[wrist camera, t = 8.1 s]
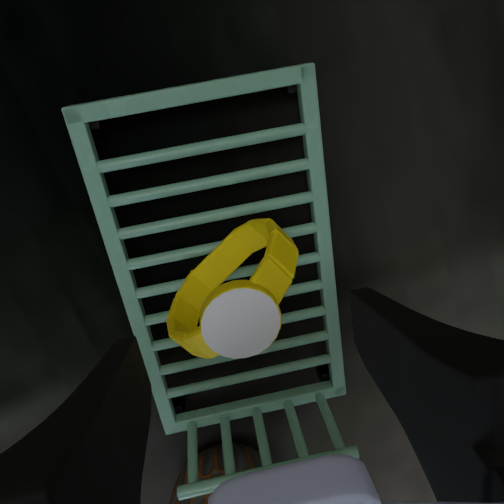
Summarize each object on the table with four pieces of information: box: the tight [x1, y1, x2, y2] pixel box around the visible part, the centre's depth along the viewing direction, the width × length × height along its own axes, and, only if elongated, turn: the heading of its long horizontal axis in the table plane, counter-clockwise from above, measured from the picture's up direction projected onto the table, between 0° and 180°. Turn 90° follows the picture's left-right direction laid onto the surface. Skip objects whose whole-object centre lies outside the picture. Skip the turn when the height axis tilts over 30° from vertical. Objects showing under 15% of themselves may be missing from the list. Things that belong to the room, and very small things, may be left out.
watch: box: [167, 218, 299, 359], centre depth 18 cm, size 6×3×6 cm, turn 133°
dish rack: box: [61, 63, 359, 500], centre depth 20 cm, size 10×17×6 cm, turn 9°
